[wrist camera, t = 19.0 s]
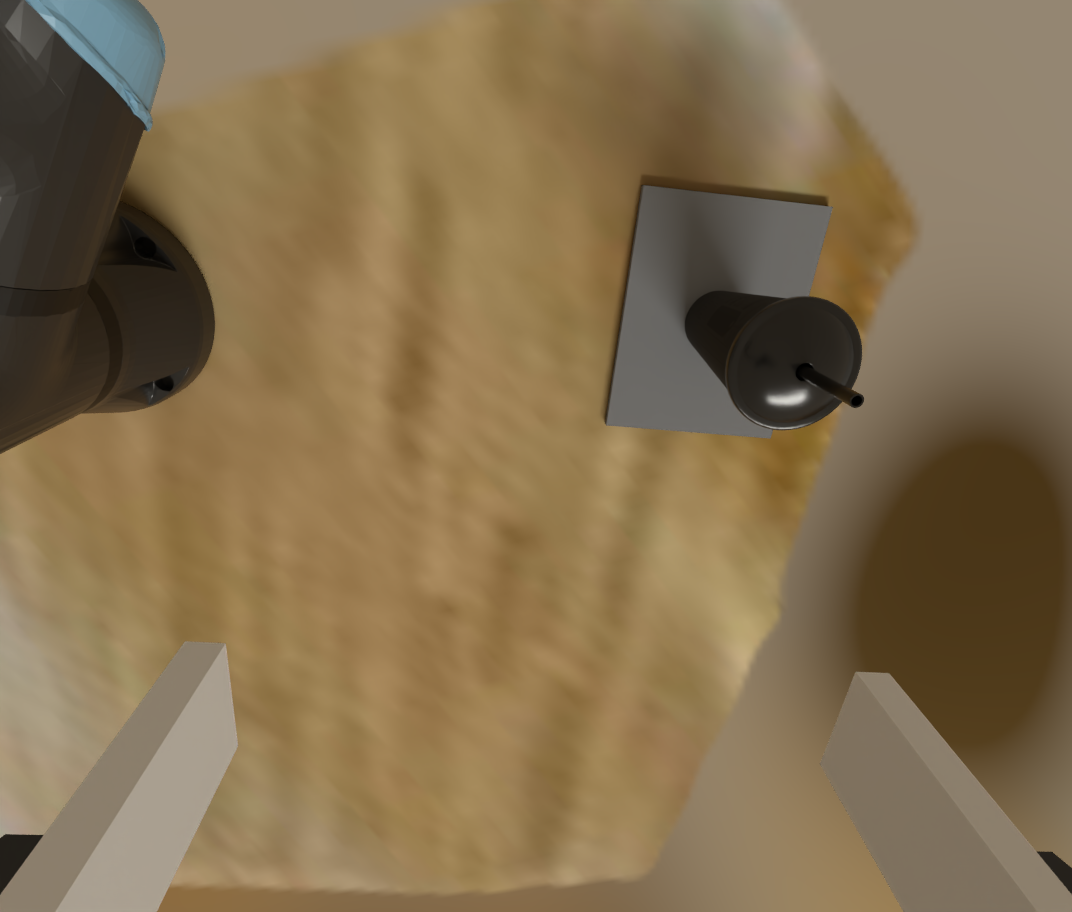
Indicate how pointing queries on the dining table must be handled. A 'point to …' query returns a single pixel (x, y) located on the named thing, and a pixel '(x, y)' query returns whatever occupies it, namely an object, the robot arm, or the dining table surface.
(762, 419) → the drinking cup
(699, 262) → the placemat
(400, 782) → the dining table surface
